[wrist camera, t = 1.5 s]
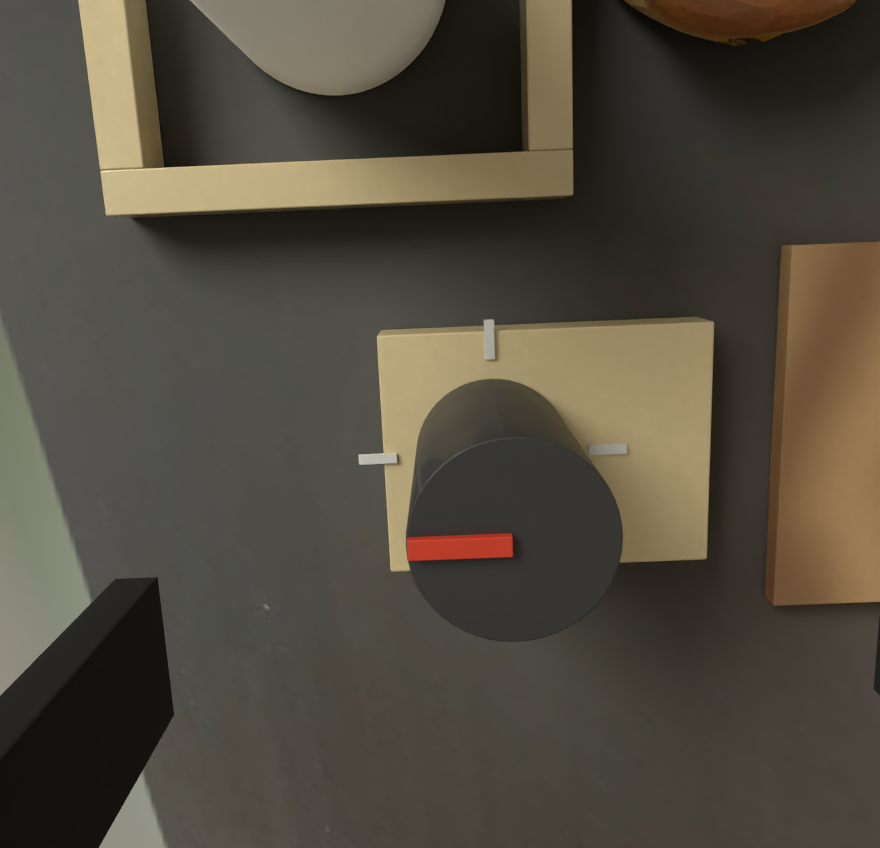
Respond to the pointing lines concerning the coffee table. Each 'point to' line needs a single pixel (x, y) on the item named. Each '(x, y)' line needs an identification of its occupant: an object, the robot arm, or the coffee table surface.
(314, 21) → the cup
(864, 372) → the trivet
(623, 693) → the coffee table surface
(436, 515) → the burner knob
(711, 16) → the burger
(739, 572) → the coffee table surface
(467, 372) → the panel
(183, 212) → the square frame
